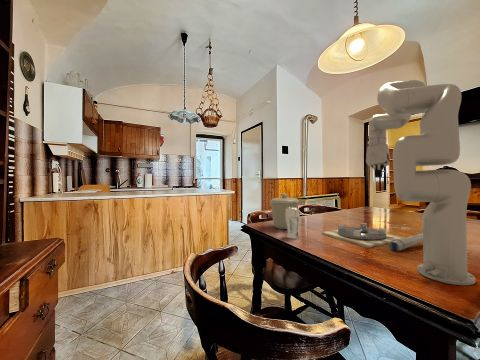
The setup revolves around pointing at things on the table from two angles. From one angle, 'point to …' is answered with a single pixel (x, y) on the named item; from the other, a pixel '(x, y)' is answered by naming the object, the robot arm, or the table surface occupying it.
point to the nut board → (363, 243)
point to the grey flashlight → (405, 242)
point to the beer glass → (292, 222)
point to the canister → (281, 209)
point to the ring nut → (362, 232)
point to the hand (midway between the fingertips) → (378, 177)
